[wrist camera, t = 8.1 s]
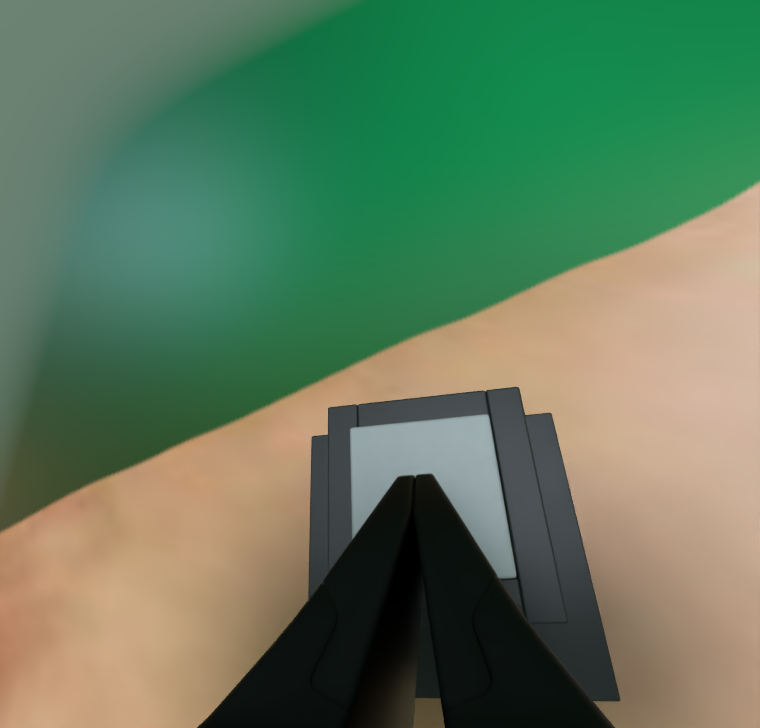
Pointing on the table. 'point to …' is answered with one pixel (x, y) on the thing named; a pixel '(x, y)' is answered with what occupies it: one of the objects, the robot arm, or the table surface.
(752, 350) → the table surface
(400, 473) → the pad
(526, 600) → the stepped grey pedestal
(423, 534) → the robot arm
